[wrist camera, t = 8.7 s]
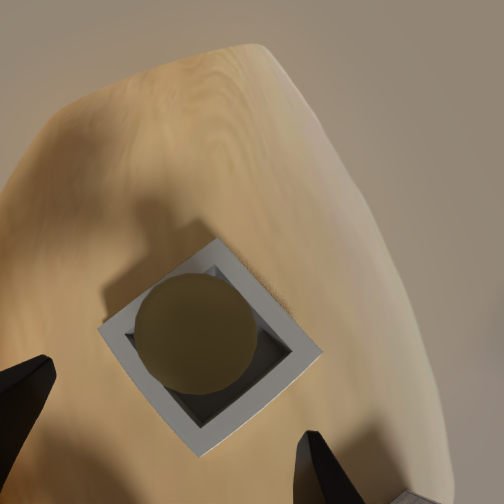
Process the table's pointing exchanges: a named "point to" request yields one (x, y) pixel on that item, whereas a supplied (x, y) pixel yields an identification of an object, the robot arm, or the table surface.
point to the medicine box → (412, 499)
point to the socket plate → (251, 381)
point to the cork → (195, 333)
